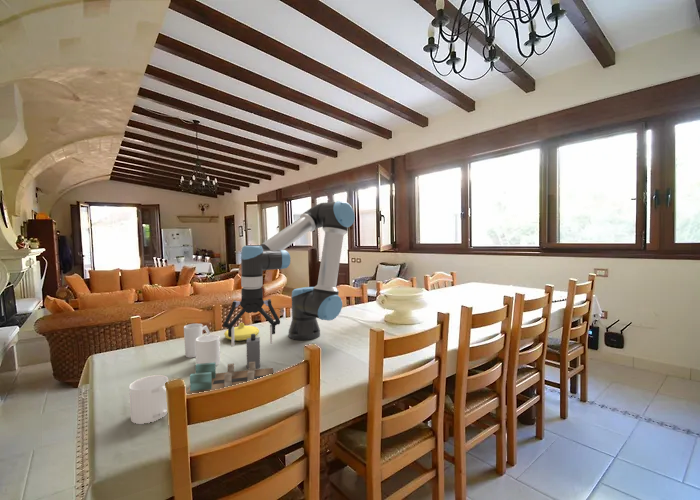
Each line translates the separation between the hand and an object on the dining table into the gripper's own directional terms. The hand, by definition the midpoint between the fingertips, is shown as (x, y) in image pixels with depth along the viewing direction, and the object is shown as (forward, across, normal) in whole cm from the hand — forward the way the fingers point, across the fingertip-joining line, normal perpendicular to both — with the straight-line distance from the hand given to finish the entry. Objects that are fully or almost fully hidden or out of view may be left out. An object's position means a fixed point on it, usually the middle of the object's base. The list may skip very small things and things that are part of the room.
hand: (252, 344), depth 121 cm
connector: (+8, 0, 0) cm, 9 cm away
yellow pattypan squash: (+8, +6, -34) cm, 36 cm away
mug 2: (+9, +22, -18) cm, 30 cm away
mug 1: (+9, +24, +28) cm, 38 cm away
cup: (+9, +18, -7) cm, 21 cm away
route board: (+9, +6, +13) cm, 16 cm away
